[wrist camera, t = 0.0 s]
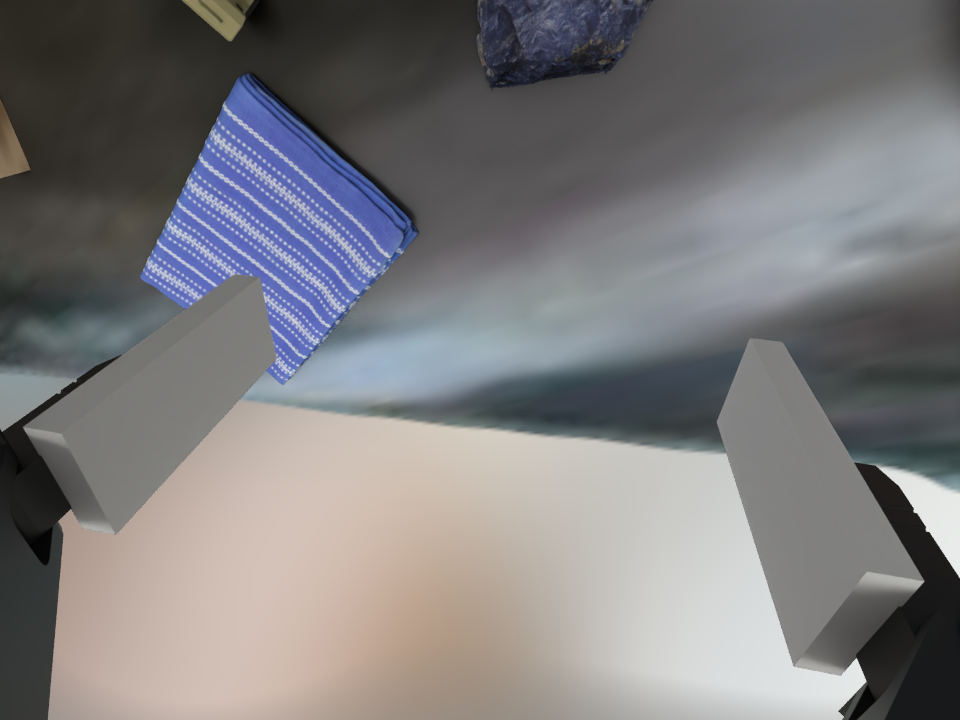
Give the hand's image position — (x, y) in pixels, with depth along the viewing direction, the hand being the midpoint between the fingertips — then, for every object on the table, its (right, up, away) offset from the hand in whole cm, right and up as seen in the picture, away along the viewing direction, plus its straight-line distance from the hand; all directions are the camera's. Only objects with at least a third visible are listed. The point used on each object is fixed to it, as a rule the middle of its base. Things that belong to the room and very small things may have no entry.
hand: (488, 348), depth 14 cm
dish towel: (-18, +10, +32) cm, 39 cm away
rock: (+5, +23, +18) cm, 30 cm away
